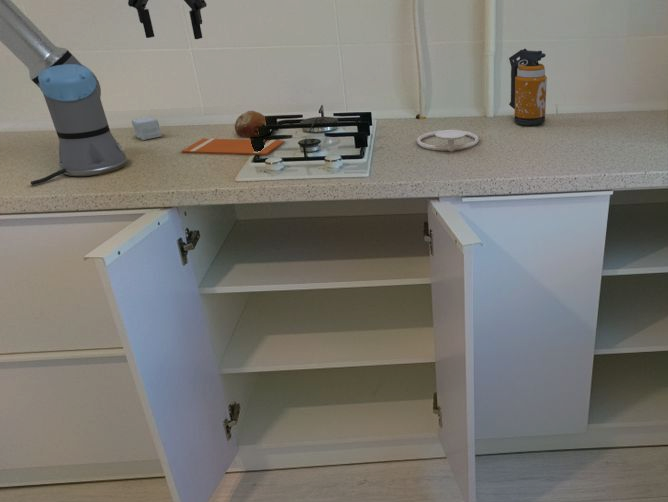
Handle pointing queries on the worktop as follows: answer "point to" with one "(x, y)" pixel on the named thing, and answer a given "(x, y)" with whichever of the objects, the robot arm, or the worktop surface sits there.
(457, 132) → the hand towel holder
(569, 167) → the worktop surface
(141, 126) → the small box
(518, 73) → the canister
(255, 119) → the bread roll
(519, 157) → the worktop surface
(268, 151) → the tea towel
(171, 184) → the worktop surface
